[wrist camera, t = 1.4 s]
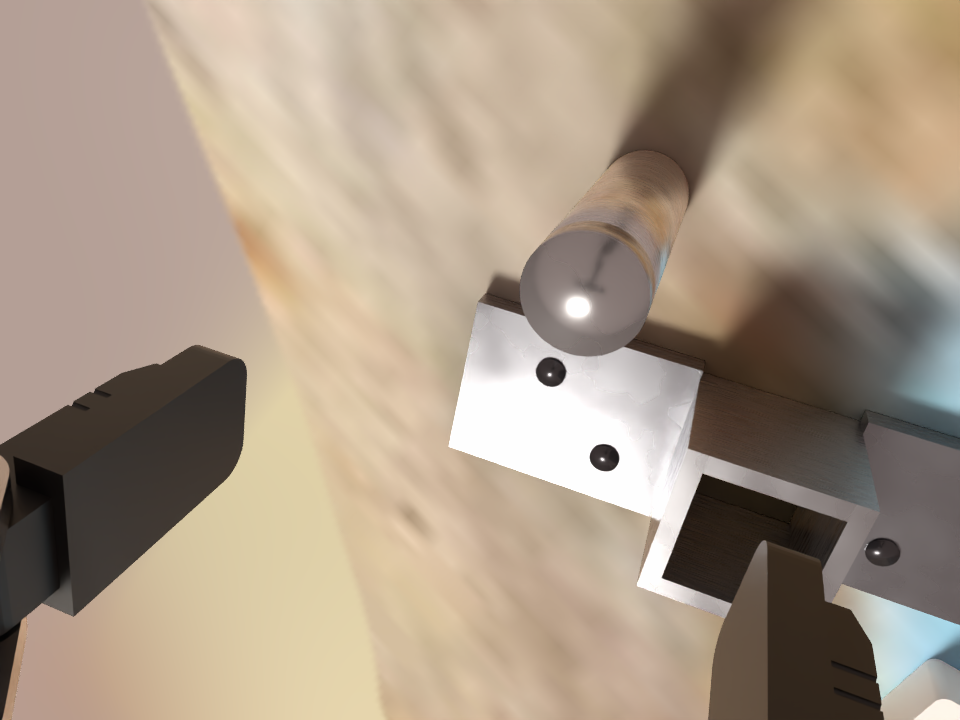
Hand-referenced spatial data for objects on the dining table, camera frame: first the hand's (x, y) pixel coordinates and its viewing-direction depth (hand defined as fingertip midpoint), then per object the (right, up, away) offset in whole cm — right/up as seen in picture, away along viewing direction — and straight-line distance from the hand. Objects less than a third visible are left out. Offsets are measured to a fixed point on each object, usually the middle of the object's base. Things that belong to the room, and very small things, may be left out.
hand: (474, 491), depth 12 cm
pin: (+6, +8, +17) cm, 20 cm away
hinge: (+11, -2, +20) cm, 23 cm away
